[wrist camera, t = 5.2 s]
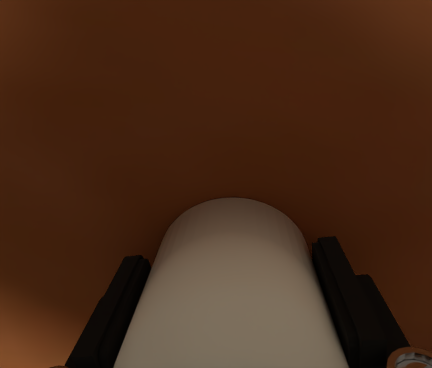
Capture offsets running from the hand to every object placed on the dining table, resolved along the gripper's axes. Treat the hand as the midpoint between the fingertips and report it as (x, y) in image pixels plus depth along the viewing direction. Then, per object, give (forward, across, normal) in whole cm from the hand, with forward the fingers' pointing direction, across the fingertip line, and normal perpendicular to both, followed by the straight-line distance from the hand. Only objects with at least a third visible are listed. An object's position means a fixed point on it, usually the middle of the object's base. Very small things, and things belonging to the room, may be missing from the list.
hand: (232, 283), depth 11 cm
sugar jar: (+1, 0, 0) cm, 1 cm away
